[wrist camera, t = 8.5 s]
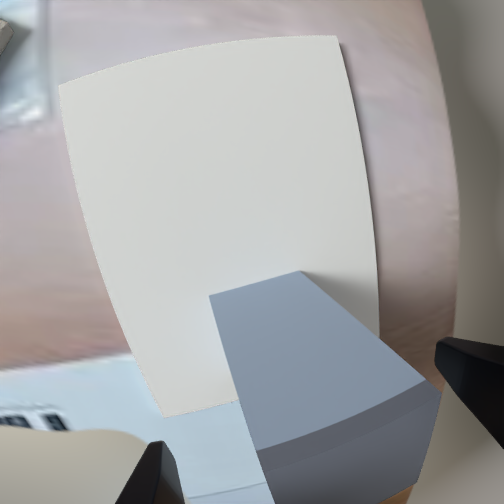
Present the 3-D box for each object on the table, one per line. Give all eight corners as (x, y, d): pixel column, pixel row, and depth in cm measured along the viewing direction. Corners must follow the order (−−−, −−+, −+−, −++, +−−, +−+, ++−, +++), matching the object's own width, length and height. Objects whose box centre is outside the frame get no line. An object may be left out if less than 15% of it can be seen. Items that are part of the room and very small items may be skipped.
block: (310, 345, 15) (417, 481, 7) (230, 370, 15) (289, 538, 6) (298, 270, 14) (441, 393, 6) (208, 295, 13) (263, 472, 5)
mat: (374, 344, 17) (379, 349, 16) (163, 410, 15) (163, 418, 14) (330, 39, 12) (336, 35, 12) (62, 88, 10) (58, 85, 10)
